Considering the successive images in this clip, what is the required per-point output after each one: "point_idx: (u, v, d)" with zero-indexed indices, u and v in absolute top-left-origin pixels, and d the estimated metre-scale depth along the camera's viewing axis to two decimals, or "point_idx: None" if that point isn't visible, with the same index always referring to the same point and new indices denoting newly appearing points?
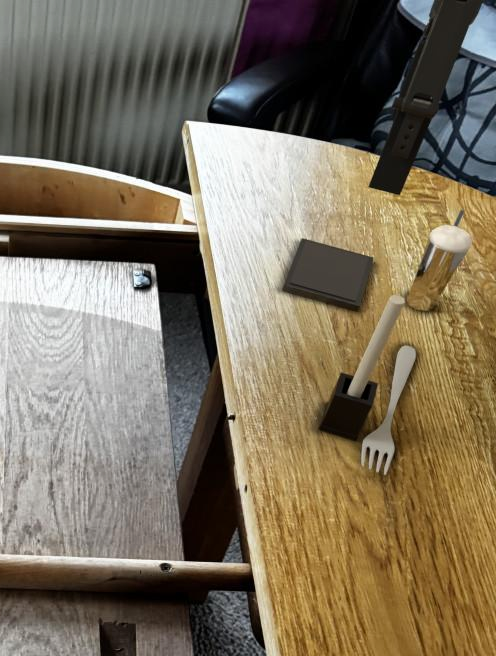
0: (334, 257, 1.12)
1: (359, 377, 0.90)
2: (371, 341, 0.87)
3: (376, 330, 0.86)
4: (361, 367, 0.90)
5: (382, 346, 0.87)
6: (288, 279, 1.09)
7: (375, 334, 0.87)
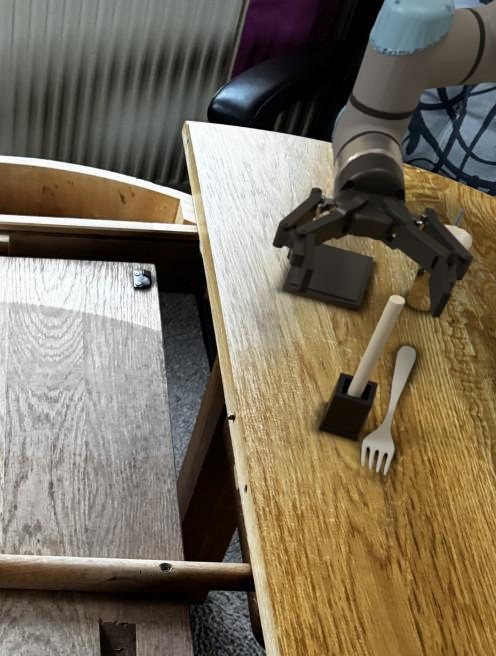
0: (334, 257, 1.12)
1: (359, 377, 0.90)
2: (371, 341, 0.87)
3: (376, 330, 0.86)
4: (361, 367, 0.90)
5: (382, 346, 0.87)
6: (288, 279, 1.09)
7: (375, 334, 0.87)
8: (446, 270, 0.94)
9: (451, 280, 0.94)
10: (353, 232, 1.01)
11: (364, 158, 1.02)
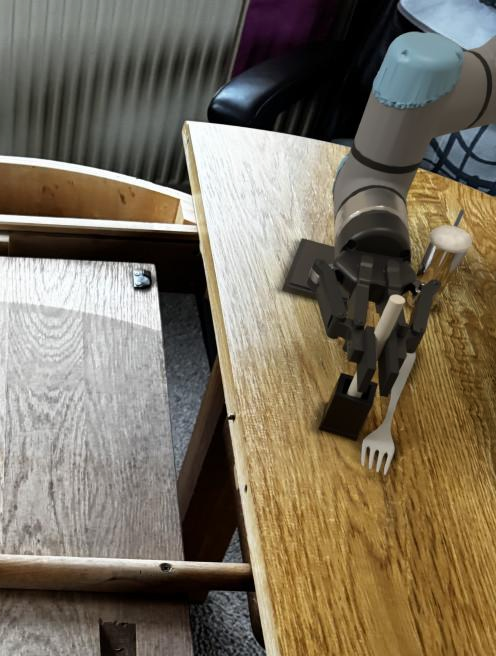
0: None
1: None
2: None
3: (376, 330, 0.86)
4: None
5: (382, 346, 0.87)
6: (288, 279, 1.09)
7: (375, 333, 0.87)
8: (395, 345, 0.86)
9: (400, 356, 0.86)
10: None
11: (367, 216, 0.95)
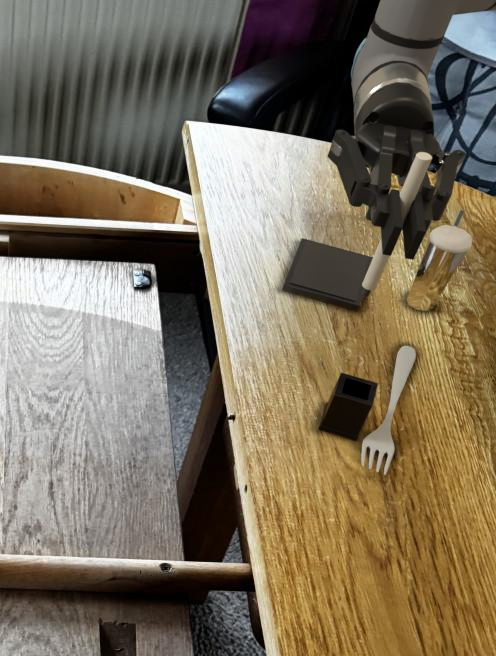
0: (334, 257, 1.12)
1: None
2: None
3: (402, 192, 0.85)
4: None
5: (407, 209, 0.85)
6: (288, 279, 1.09)
7: (400, 196, 0.85)
8: (421, 207, 0.84)
9: (426, 218, 0.84)
10: None
11: (389, 88, 0.93)
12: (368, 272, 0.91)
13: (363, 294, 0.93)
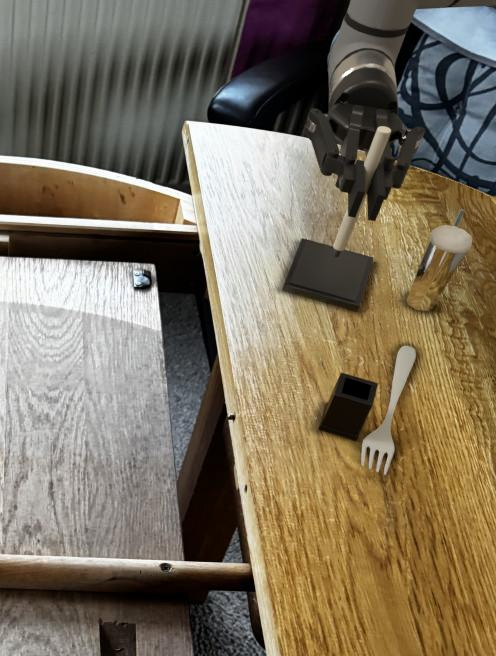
0: (334, 257, 1.12)
1: None
2: None
3: (365, 161, 0.96)
4: None
5: (371, 177, 0.97)
6: (288, 279, 1.09)
7: (364, 165, 0.97)
8: (382, 175, 0.96)
9: (387, 185, 0.96)
10: None
11: (358, 72, 1.05)
12: (338, 234, 1.03)
13: (334, 255, 1.05)
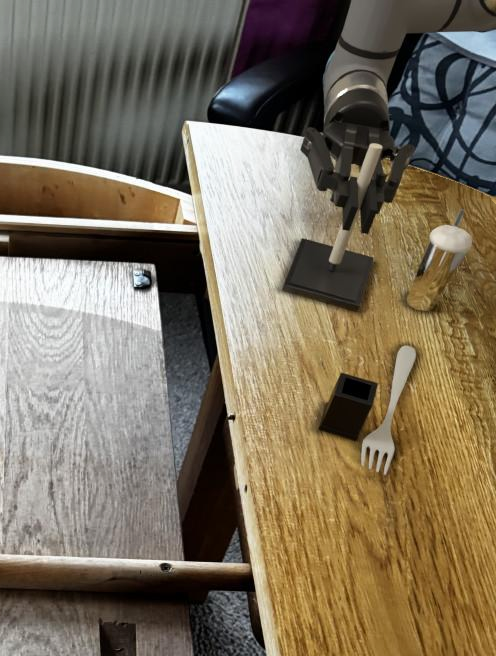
0: None
1: None
2: None
3: (359, 177, 1.02)
4: None
5: (364, 192, 1.03)
6: (288, 279, 1.09)
7: (357, 180, 1.03)
8: (374, 190, 1.02)
9: (379, 200, 1.02)
10: None
11: (351, 92, 1.11)
12: (333, 248, 1.08)
13: (330, 268, 1.10)
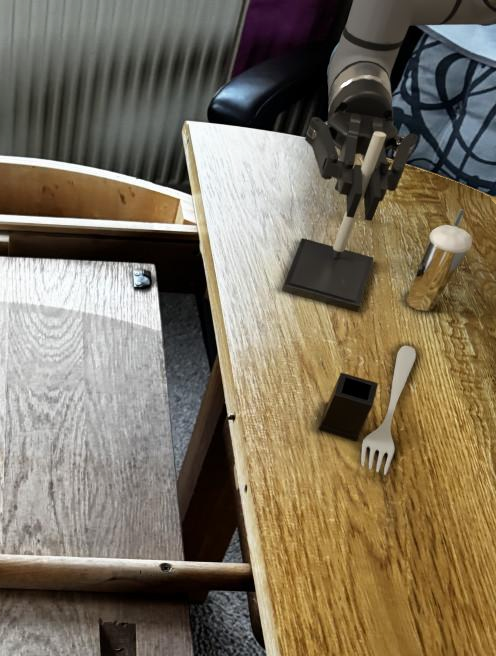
0: None
1: None
2: None
3: (363, 164, 1.04)
4: None
5: (368, 179, 1.05)
6: (288, 279, 1.09)
7: (362, 168, 1.04)
8: (378, 178, 1.04)
9: (382, 187, 1.04)
10: None
11: (356, 83, 1.13)
12: (338, 236, 1.10)
13: (334, 256, 1.12)
